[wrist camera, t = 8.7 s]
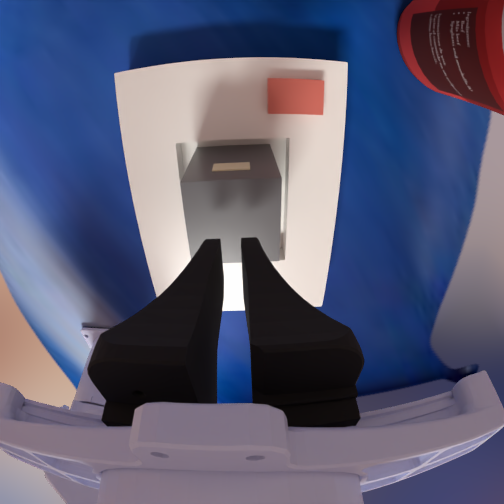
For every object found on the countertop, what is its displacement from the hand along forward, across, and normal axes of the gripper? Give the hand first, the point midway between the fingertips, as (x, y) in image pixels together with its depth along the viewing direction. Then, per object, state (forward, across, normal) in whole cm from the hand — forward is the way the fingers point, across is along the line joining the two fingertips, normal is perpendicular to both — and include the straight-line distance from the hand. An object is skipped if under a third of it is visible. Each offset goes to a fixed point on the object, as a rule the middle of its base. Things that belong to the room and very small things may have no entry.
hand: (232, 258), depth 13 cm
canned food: (+10, -14, -11) cm, 21 cm away
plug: (+8, 0, 0) cm, 8 cm away
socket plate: (+9, 0, +1) cm, 9 cm away
